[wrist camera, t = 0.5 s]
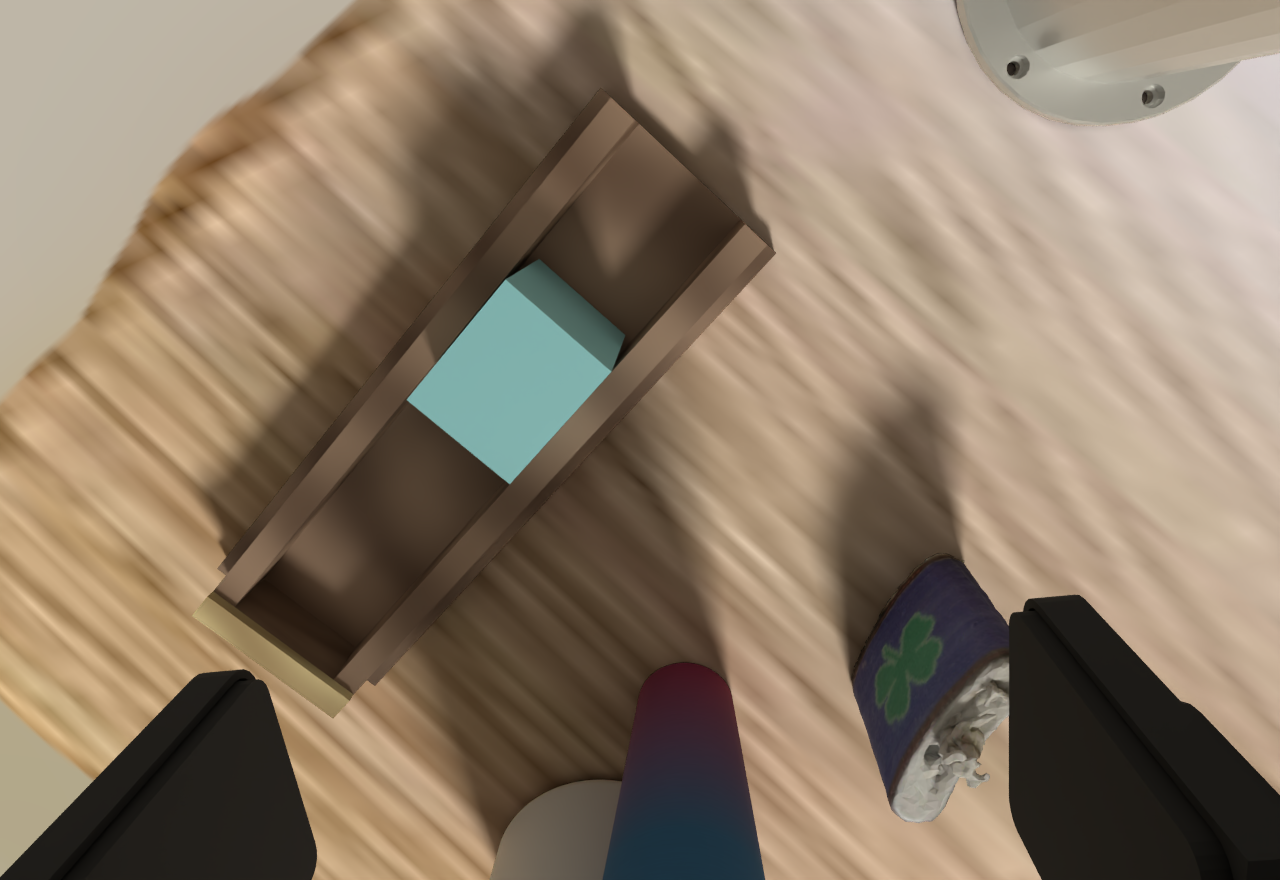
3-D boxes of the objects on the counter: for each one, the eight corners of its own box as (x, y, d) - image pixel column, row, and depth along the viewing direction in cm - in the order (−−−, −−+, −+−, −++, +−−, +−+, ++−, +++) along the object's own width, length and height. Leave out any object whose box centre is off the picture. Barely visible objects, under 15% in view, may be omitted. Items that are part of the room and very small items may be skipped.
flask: (882, 707, 44) (941, 869, 34) (833, 685, 44) (876, 841, 34) (978, 565, 41) (1073, 694, 31) (926, 540, 41) (1004, 662, 31)
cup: (700, 624, 43) (706, 851, 29) (775, 717, 44) (815, 976, 30) (596, 688, 45) (552, 933, 30) (671, 776, 46) (662, 1049, 32)
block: (539, 258, 36) (505, 279, 30) (625, 335, 37) (611, 371, 31) (456, 359, 38) (406, 399, 31) (540, 430, 39) (509, 484, 32)
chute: (603, 89, 35) (591, 79, 31) (774, 250, 37) (784, 262, 33) (226, 561, 43) (175, 604, 39) (380, 676, 45) (348, 729, 41)
